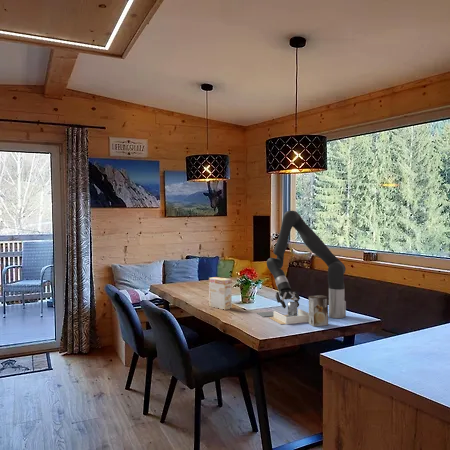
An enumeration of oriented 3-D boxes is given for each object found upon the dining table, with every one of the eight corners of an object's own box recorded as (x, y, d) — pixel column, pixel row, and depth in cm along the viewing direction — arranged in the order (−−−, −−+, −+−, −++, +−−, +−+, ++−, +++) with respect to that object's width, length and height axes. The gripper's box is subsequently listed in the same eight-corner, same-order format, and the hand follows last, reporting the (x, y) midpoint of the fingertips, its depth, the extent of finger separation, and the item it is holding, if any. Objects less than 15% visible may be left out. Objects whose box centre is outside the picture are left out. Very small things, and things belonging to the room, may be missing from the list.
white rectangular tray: (301, 313, 269) (301, 307, 269) (317, 321, 252) (317, 314, 252) (267, 317, 262) (267, 310, 261) (281, 324, 244) (281, 317, 244)
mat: (271, 312, 274) (271, 311, 274) (278, 315, 265) (278, 315, 265) (256, 313, 271) (256, 312, 271) (263, 317, 261) (263, 316, 261)
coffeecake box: (232, 308, 285) (231, 279, 284) (224, 310, 280) (224, 280, 279) (216, 304, 296) (216, 276, 295) (208, 306, 291) (208, 277, 290)
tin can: (294, 317, 259) (294, 301, 259) (298, 320, 254) (298, 303, 254) (286, 318, 258) (286, 302, 257) (290, 320, 252) (290, 303, 252)
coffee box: (322, 322, 248) (323, 294, 248) (328, 325, 242) (328, 297, 242) (308, 323, 246) (308, 295, 245) (313, 326, 240) (313, 298, 239)
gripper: (274, 281, 262) (282, 304, 252) (295, 280, 267) (304, 302, 256) (270, 288, 267) (278, 311, 257) (291, 287, 272) (300, 309, 262)
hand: (291, 307), depth 257 cm, fingers open, 8 cm apart
